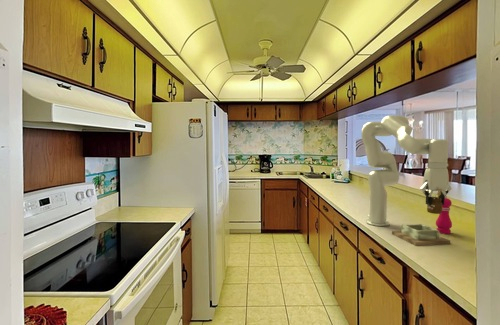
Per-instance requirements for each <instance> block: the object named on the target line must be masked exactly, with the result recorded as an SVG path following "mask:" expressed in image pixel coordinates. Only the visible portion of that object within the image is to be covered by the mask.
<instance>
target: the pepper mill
mask: <svg viewBox="0 0 500 325" xmlns="http://www.w3.org/2000/svg"><path fill="white" fill-rule="evenodd" d="M451 206H452V200H451V199H450V198H448V195H446V196H445V201H444V205H442V213H441V214H438V217H437V218H436V221H435V225H436V227H437V228H436V230H439V234H444V235H450V234H451V232H452V231H451V228H452V227H453V223H452V220H451V218H450V211H451Z"/></svg>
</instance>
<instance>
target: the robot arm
mask: <svg viewBox="0 0 500 325" xmlns="http://www.w3.org/2000/svg"><path fill="white" fill-rule="evenodd" d="M409 124H410V123H409V120H408V118H407V117H406V116H403V115H395V114H393V115H392V114H391V115H387V116H384V117H383V118H382V120H381V121H370V122H369V121H368V122H366V123H365V124H363V126H362V128H361V132H360V133H361V140H362V143H363V146H364V149H365V150H364V151H365V154H366V159H367V165H368V166H369V168H372V169H375V170H371V171H370V172H369V174H368V176H367V181H368V187H369V190H368V191H369V196H368V197H369V198H368V199H369V200H368V201H369V202H368V204H369V205H368V214H367V217H368V219H366V220H365V223H366V224H368V225H370V226H375V227H387V226H390V221H388V220H387V218H388V216H387V215H388V214H387V212H388V211H387V210H388V193H387V189H386V188H385V187H391V186H396V185H397V184H398V183H399V171H398V165H397V161H396V158H395V156H394V155H393V154H392V153H391V152H388V151H382V148H381V147H382V146H381V144H380V142H379V139H377V138H376V137H390V136H394V137H395V138H396V140H397V143H398V145H399V146H400V148H402V149H403V150H404V151H406V152H407V153H409V154H412V155H428V160H427V168H425V171H424V174H423V178H422V180H423V181H422V186H421V187H420V191H421V192H422V194H424V196H425V205H432V196H433V193H434V192H438V189H439V190H440V188H442V191H441V190H440V192H441V195H439V198H441V199H442V201H441V202H442V205H444V201H445V196H447V194H449V192H451V190H452V187H451V186H450V184H449V182H450V181H449V180H450V178H449V176H450V175H449V170H448V167H449V163H448V156H449V141H448V140H447V139H443V138H442V139H441V138H439V139H436V138H435V139H433V138H415V137H413V136H412V135H411V134H412V130H413V129H412V126H410V125H409ZM431 195H432V196H431Z"/></svg>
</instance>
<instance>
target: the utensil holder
mask: <svg viewBox="0 0 500 325" xmlns="http://www.w3.org/2000/svg"><path fill="white" fill-rule="evenodd" d="M440 190H441V191H442V188H440ZM440 190H439V189H438V191H437V192H436V196H434V195H433V194H432V195H431V197H432V205H427V204H426V205H427V207H426V209H427V210H426V211H427V213H430V214H433V215H439V214H441V213H442V202H441V201H442V199H441V198H439V195H441V192H440Z"/></svg>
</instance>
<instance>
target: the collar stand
mask: <svg viewBox="0 0 500 325" xmlns="http://www.w3.org/2000/svg"><path fill="white" fill-rule="evenodd" d="M391 235H393V236H395V237H396V238H400V240H403V241H405V242H407V243H409V244H411V245H413V246H432V245H450V244H451V240H450V239H447V238H445V237H444V236H443V237H442V236H440V233H439V230H437V228H433V227H430V226H429V225H428V226H427V225H425V224H422V223H419V224H401V230H392V231H391Z"/></svg>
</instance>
